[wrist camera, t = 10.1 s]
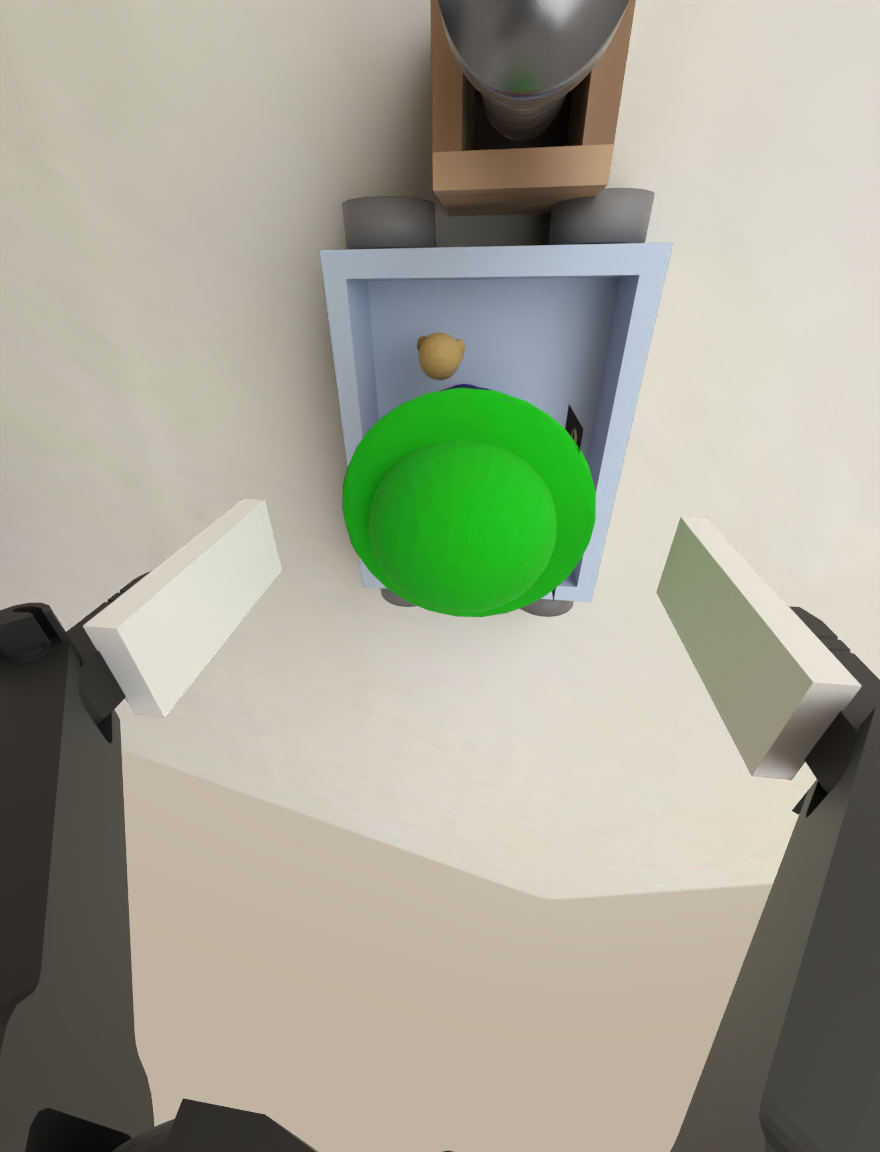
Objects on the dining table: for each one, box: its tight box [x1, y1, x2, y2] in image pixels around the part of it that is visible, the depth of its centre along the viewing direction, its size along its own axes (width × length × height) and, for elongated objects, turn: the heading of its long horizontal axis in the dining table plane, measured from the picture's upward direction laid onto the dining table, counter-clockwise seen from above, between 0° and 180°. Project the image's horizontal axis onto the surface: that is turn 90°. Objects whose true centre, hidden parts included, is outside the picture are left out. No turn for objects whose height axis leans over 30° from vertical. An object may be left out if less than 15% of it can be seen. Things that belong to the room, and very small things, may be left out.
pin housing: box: [431, 0, 636, 216], centre depth 16 cm, size 6×6×6 cm
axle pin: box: [438, 0, 630, 141], centre depth 12 cm, size 4×4×7 cm
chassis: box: [320, 188, 673, 617], centre depth 24 cm, size 14×20×4 cm
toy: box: [343, 332, 596, 617], centre depth 19 cm, size 12×9×15 cm
